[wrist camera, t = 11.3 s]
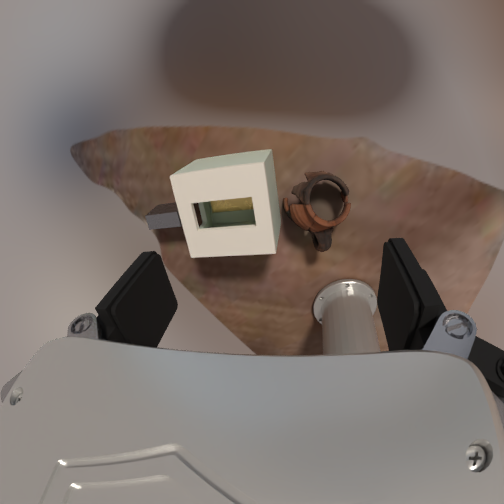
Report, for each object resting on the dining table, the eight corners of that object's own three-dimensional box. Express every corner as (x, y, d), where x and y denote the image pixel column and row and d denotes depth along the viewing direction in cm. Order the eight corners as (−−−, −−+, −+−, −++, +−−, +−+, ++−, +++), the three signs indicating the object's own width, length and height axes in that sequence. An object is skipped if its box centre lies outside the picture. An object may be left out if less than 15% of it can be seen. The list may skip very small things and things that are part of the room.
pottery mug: (271, 182, 42) (289, 176, 34) (323, 168, 44) (348, 161, 36) (292, 255, 45) (313, 264, 37) (341, 237, 46) (368, 242, 38)
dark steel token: (191, 214, 47) (180, 226, 43) (162, 217, 48) (149, 229, 44) (188, 200, 46) (176, 211, 41) (158, 204, 47) (145, 215, 43)
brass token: (258, 197, 43) (253, 209, 38) (221, 200, 44) (212, 212, 40) (256, 182, 42) (250, 192, 37) (218, 186, 43) (209, 196, 39)
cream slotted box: (280, 222, 45) (275, 253, 36) (211, 227, 47) (191, 257, 39) (271, 149, 39) (263, 163, 31) (196, 159, 42) (169, 176, 33)
